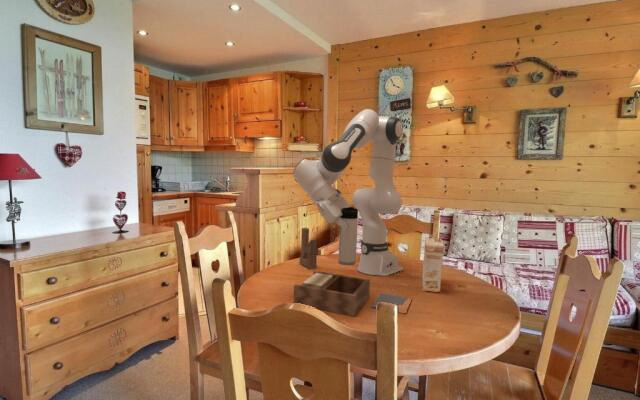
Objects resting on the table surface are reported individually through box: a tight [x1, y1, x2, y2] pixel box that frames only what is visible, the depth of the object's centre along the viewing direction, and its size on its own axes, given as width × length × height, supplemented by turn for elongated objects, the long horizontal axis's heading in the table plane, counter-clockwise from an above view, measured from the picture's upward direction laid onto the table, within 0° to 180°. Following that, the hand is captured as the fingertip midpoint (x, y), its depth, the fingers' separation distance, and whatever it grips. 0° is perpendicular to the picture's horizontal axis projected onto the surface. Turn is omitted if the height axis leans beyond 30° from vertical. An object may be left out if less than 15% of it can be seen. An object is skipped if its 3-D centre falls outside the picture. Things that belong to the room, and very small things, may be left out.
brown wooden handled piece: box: [299, 227, 318, 270], centre depth 173 cm, size 4×11×18 cm, turn 32°
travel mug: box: [337, 206, 359, 266], centre depth 128 cm, size 6×7×20 cm
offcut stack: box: [302, 273, 333, 289], centre depth 134 cm, size 8×13×8 cm, turn 159°
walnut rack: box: [293, 270, 371, 317], centre depth 132 cm, size 23×19×7 cm
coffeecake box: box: [421, 237, 445, 292], centre depth 151 cm, size 15×7×20 cm, turn 164°
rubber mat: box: [371, 292, 409, 312], centre depth 131 cm, size 14×12×1 cm
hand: (350, 226), depth 127 cm, fingers closed on travel mug, 6 cm apart
